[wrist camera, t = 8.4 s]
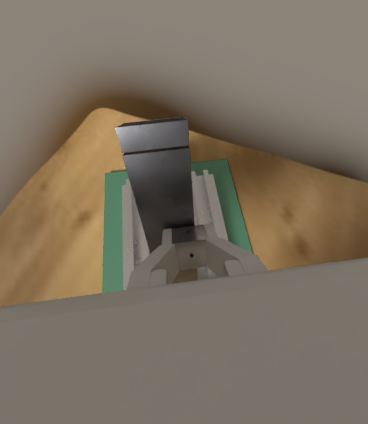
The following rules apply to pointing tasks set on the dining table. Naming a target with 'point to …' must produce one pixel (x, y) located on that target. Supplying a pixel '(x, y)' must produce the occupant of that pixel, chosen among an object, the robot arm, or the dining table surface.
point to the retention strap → (160, 178)
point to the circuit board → (114, 218)
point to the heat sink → (203, 214)
